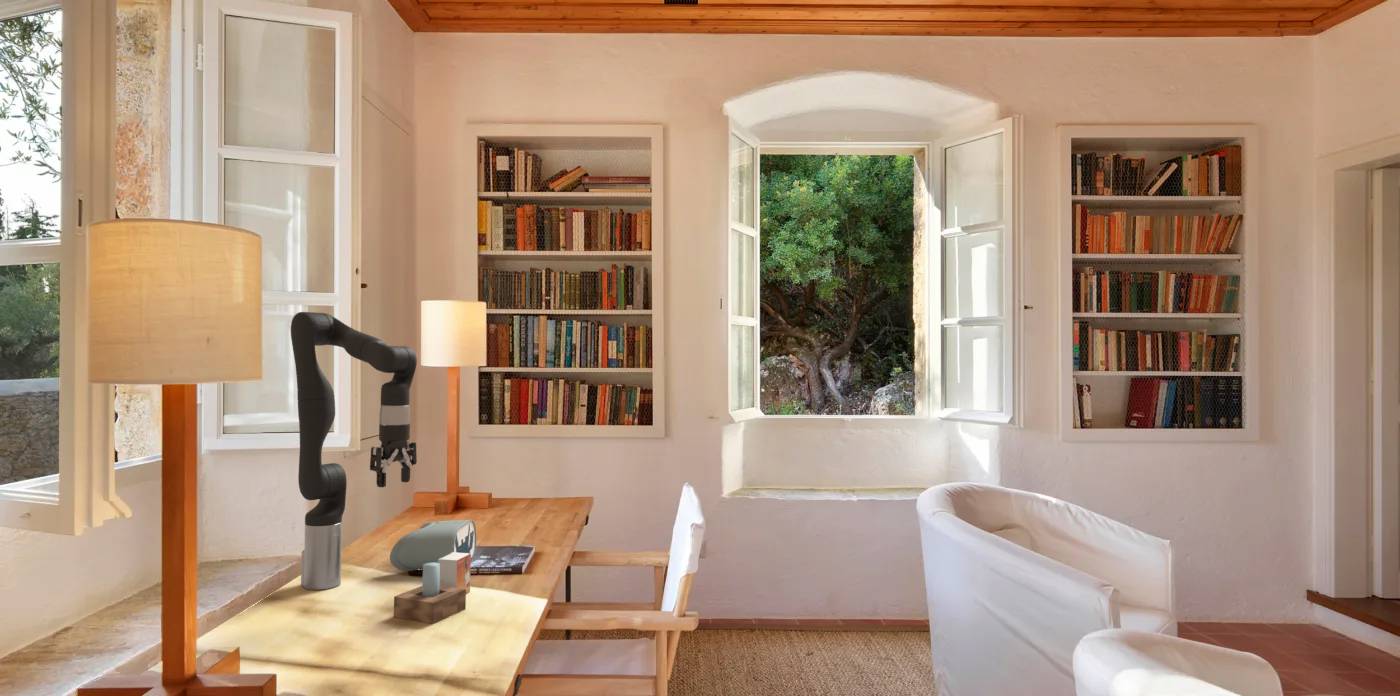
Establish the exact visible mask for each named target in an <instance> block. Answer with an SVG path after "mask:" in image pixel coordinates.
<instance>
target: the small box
mask: <svg viewBox="0 0 1400 696" xmlns="http://www.w3.org/2000/svg"><path fill="white" fill-rule="evenodd" d="M438 563H439V564H440V583H439V585H441V586H447V587H454V588H460V589H466V595H467V594H469V593H470V592H471V565H472V564H471V563H472V559H471V554H470V553H457V552H452V553H451V554H449V555H447V556H445V557H443V558H440V559H438Z"/></svg>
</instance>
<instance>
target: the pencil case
mask: <svg viewBox="0 0 1400 696" xmlns="http://www.w3.org/2000/svg"><path fill="white" fill-rule="evenodd" d="M475 524H476V523H475V522H474V520H472V519H459V520H458V519H456V520H453V519H452V520H441V521H439V520H438V521H436V520H434V521H427V522H425V523H423V524H422V525H421V526H420V527H419V528H418V529H416V530H414V531H413V530H412V531H411V532H409V533H407V534H405V535H404V536H402V537H400V539H399V540H398V541H397V542H396V543H395V544H394V546H393V547H392V548H391V551H390V554H389V560H390V563H391V565H392V566H393V568H397V570H401V571H405V572H414V571H413V570H415V569H420V570H421V569H422V570H423V564H426V563H438V559H440V558H443V557H445V556H447V555H449V554H451V553H452V552H457V553H470V554H471V558H472V559H473V557H474V555H475V552H476V547H477V529H476V525H475Z"/></svg>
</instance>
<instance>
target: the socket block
mask: <svg viewBox="0 0 1400 696" xmlns="http://www.w3.org/2000/svg"><path fill="white" fill-rule="evenodd" d="M422 588H423V585H420V586H418V587H415V588H413V589H410V590H407V591H404V592H402V593H400V594H397V595H394V596H393V618H398V619H405V620H409V621H415V622H419V623H420V622H421V623H427V624H432V625H434V624H436V623H438V622H441V621H443V620H445V619H448V618H450V617H452V616H454V615H456V614H458V613H460V612H462V611H465V610H466V607H467V606H466V603H467V602H466V601H467V600H466V599H467V594H466V589H460V588H454V587H447V586H441V585H439V595H437V596H434V597H426V596H422ZM449 616H450V617H449Z"/></svg>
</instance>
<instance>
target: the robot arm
mask: <svg viewBox="0 0 1400 696" xmlns="http://www.w3.org/2000/svg"><path fill="white" fill-rule="evenodd" d="M290 339H291V346H292V350H293V351H292V352H293V359H294V364H295V373H296V374H295V375H296V387H297V392H296V393H297V411H298V412H297V413H298V425H299V427H298V429H299V455H298V456H299V457H298V476H297V477H298V479H297V480H298V488H299V492H300V494H301V496H302V497H303V498H304V499H305V500H306V501H315V500H319V501H318V503H317V504H316V506H314V507H313V508H312V509H309V511H308V512H306V514H305V516H304V550H301V560H300V561H301V564H300V565H301V566H300V567H301V568H300V569H301V571H300V574H301V575H300V576H301V577H300V578H301V579H300V586H302V587H303V588H304V589H306V590H312V591H313V590H316V591H317V590H318V591H319V590H327V589H332V588H335V587H337V586H340V585H341V582H342V581H341V578H342V576H341V575H342V538H343V537H342V534H343V533H342V532H343V530H342V529H343V528H342V527H343V514H344V513H345V509H346V500H347V499H346V498H347V497H346V496H347V488H348V487H347V482H348V481H347V479H348V478H347V474H346V471H345V468H344V467H343V466H342V465H341V464H339V463H335V462H331V463H323V464H322V452H323V445H324V442H325V440H326V437H327V436H328V434H329V431H330V430H331V428H332V426H333V424H334V420H335V417H336V403H335V402H336V400H335V392H334V389H333V387H332V385H331V383H330V381H329V380H328V378H327V377H326V376H325V374H324V372H323V371H322V369H321V368H320V365H319V363H318V359H317V354H316V352H317V351H316V346H319V347H320V346H333V347H334V346H335V347H339V348H343V349H344V351H345V352H346V353H347V354H348V355H349V356H351V357H352V358H355V359H357V360H358V361H359V360H360V361H362V362H365V363H367V364H369V365H370V366H371V367H372V368H374V370H376V371H378V372H381V373H386V374H393V377H392V378H391V380H390V381H388V382H384V383H383V384H382V385H381V387H380V388H381V389H380V407H379V408H380V409H379V414H378V415H379V419H378V421H379V422H378V423H379V425H378V440H379V441H380V442H381V444H380V447H379V446H372V447H371V448H370V460H369V461H370V462H369V470H370V471H373V472H375V473H376V485H377V487H378V488H386V486H387V470H388V468H389V466H391V465H392V463H395V462H398V463H399V464H400V466H401V471H400V481H401V482H402V483H409V482H410V479H411V468H412V467H413V466H414V465H417V462H418V460H417V442H414V441H409V440H410V439H411V437H410V436H411V432H410V431H411V410H410V389H411V386H412V382H413V380H414V379H413V378H414V376H415V374H416V373H415V372H416V369H417V362H418V359H417V356H416V352H415V350H414V349H413V348H411V347H410V346H406V345H387V343H386V342H385V341H384V340H382V339H381V338H378V337H376V336H372V335H369V334H367V333H364V332H361V331H359V330H357V329H354V328H353V327H350V326H349V325H348V324H345V323H344V322H342V321H341V320H340V319H338V318H337V317H334V316H333V315H331V314H329V313H325V312H312V311H300V312H297V313H296V314H294V316H293V317H292V320H291V322H290Z"/></svg>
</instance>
